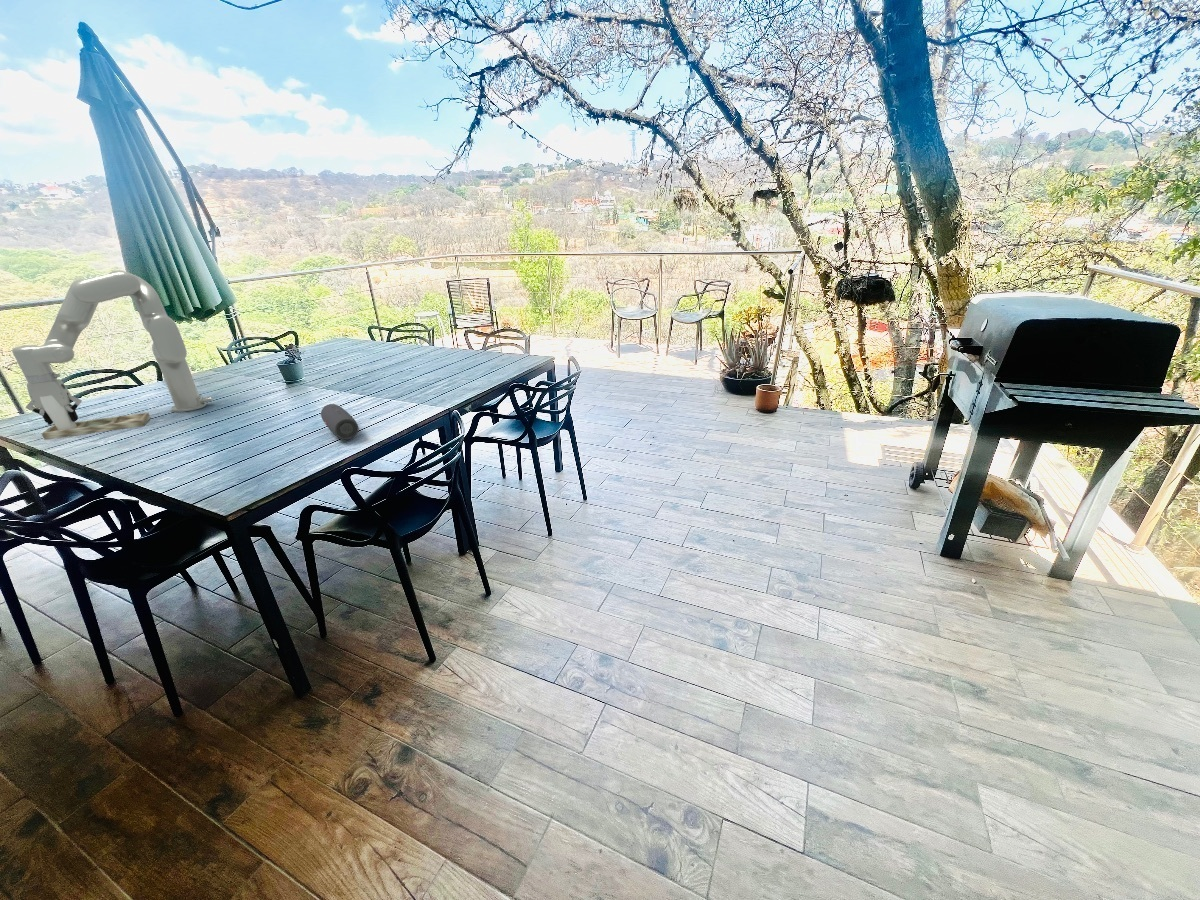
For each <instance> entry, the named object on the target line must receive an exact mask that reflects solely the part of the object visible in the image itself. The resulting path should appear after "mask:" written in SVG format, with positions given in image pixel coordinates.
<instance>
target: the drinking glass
mask: <svg viewBox="0 0 1200 900" xmlns="http://www.w3.org/2000/svg"><path fill="white" fill-rule="evenodd" d="M40 400H41V403H42V405H43V407H44V410H45V411H46V413H47V414H48V416H49V417H50V418H51V420H52V421H53V423H52V424H53V425H55V426H56V427H57V429H58V431H60V430H67V429H75V428H77V425H76V423H75V422H76V421H75V422H73V421H72V420H71V418H70V416H69V414H68V412H69V411H68V410H67V409H66V408H65V407H64V406H60V404H59V403H58V402H57V401H56V400H55V399H54V397H53V396H52V395H49V396H42V397H40Z"/></svg>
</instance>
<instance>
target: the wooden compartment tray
mask: <svg viewBox="0 0 1200 900" xmlns="http://www.w3.org/2000/svg"><path fill="white" fill-rule="evenodd" d="M150 419H151V415H150V413H149V412H142V413H135V414H127V415H119V416H111V417H103V418H96V419H89V420H82V421H75V423H76V425H77V428H75V429H67V430H60V431H58V429H57V427H56V426H55V424H53V425H50V427H48V428H47V429H46V430H45V431H43V432H42V433H41V436H42V438H43V440H53V439H59V438H65V437H67V438H68V437H73V436H79V435H80V434H81V435H88V434H95V432H96V433H102V432H109V431H118V430H125V429H132V428H137V427H144V426H145V425H146V424H147V423H148V422H149V420H150Z"/></svg>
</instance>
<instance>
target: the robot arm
mask: <svg viewBox="0 0 1200 900" xmlns="http://www.w3.org/2000/svg"><path fill="white" fill-rule="evenodd" d="M126 296H128V297H130V298H131V299H132V301H133V303H134V306H135V307H136V309H137V311H138V314H139V317H140V319H141V322H142V325H143V327H144V329H145V330H146V332H148V333H149V336H150V337H151V340H152V342H153V343H152V345H151V351H152V354H153V355H154V358H155V360H156V362H157V364H158V367H159V368H160V372H161V373H162V377H163V380H164V382H165V384H166V386H167V389H168V392H169V393H170V394H169V395H170V396H171V397H170V398H171V400H172V402H173V406H172V407H171V408H170V409H171V411H172V412H176V413H181V412H183V413H184V412H191V411H196V410H198V409H203V408H205V407H206V406H207V403H209V402H213V397H212V396H206V397H204V396H202V394H199V392H198V390H197V389H198V388H197V386H196V383H195V380H194V377H193V375H192V372H191V369H190V367H189V365H188V361H187V360H186V359H187V354H188V352H187V348H186V345H185V342H184V341H183V337H182V335H181V333H180V330H179V328H178V326H177V324H176V322H175V321H174V320H173V319H172V318H171V317H170V316H169V315H168V313H167V312H166V309H165V307H164V304H163V303H162V300H161V298H160V295H159V294H158V293H157V291H156V290H155V288H154V287H153V286H152V285H151V284H150V283H148V282H147V280H145V279H143V278H142V277H140V276H137V275H135V274H133V273H131V272H129V271H128V272H127V271H125V270H120V269H117V270H116V269H115V270H112V271H109V272H108V274H106V275H102V276H98V277H92V278H88V279H84V278H80V279H75V280H74V281H72V283H71V284H70V286H69V288H68V290H67V292H66V295H65V297H64V299H63V302H62V303H61V306H60V308H59V310H58V312H57V314H56V317H55V320H54V323H53V325H52V326H51V329H50V330H49V333H48V335H47V337H46V339H45V341H44V344H43V345H36V344H31V345H29V344H28V345H20V346H15V347H13V348H12V350H11V351H12V355H13V356H14V358H15V360H16V362H17V364H18V365H19V368H20V370H21V372H22V373H23V376H24V378H25V379H26V381H27V383H26V388H27V392H28V393H27V394H28V395H29V399H30V401H29V402H28V403H27V405H26V406H25V409H27V410H29V411H32V412H34V413H36V414H39V416H42V418H43V420H44V422H45V423H47V425H48V426H52V424H54V423H53V421H52V420H51V418H50V417H49V416H48V414H47V413H46V411H45V410H44V407H43V405H42V403H41V400H40V397H42V396H49V395H52V396H53V397H54V399H55V400H56V401H57V402H58V403H59V404H60V406H64V407H65V408H66V409H67V410H68V411H69V412H68V414H69V416H70V418H71V420H72V421H73V422H77V421H78V419H79V415H78V413H77V412H76V410H77V408H78V407H79V406H80V404H81V403H82V401H83V400H82V399H80V398H77V397H75V396H73V395H72V394H71V392H70V391H69V389H68V388H67V386H66V385H65V384H64V382H63V381H62V380H61V379H60V378H61V374H60V373H56V372H55V371H54V370H53V368H52V366H51V364H64V363H69V362H71V361H72V360H74V357H75V352H74V350H73V349H74V348H75V345H76V342H77V340H78V338H79V336H80V335H81V333H82V332H83V331H84V330H85V329H86V328H87V327H88V326H89V325H90V323H91V320H92V319H93V316H94V313H95V312H96V309H97V308H98V306H99V304H100V303H103V302H107V301H108V302H109V301H111V300H115V299H119V298H122V297H126ZM58 378H59V379H58ZM72 403H73V404H72Z"/></svg>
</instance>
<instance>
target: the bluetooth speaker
mask: <svg viewBox="0 0 1200 900" xmlns="http://www.w3.org/2000/svg"><path fill="white" fill-rule="evenodd" d="M320 417H321V419H322V421H323V423H324V424H325V426H326V427H327V428H328V429H329V431H331V433H333V434H334V435H335V436H336V437H337V438H340V439H342V440H351V439H353V438H355V437H356V436H357V435H358V433H359V431H360V428H359V424H358V423H357V420H355V419H354V417H353V416H352V415H351V414H350V413H349V412H348V411H347V410H346V409H345V408H343V407H342V406H340V405H338V404H337V403H335V404H334V403H329V404H326V405H324V406H323V408H322V409H321V411H320Z"/></svg>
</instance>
